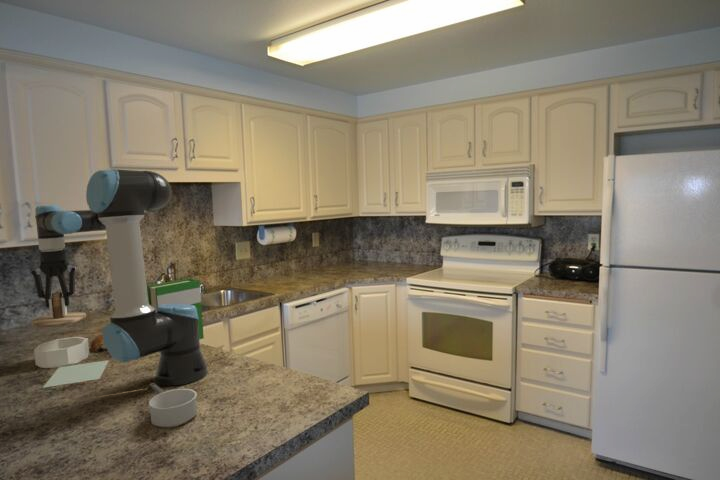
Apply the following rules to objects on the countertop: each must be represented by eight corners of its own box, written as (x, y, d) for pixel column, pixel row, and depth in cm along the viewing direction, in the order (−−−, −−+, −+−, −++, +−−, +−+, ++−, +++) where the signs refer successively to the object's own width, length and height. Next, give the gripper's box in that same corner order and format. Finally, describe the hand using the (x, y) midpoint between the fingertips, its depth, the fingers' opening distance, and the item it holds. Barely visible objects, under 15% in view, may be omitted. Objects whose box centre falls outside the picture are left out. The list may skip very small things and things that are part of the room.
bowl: (83, 365, 154) (81, 346, 154) (31, 372, 149) (29, 353, 148) (92, 351, 168) (90, 335, 168) (45, 358, 163) (43, 340, 162)
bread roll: (124, 355, 174) (127, 334, 177) (107, 352, 164) (111, 330, 167) (100, 355, 175) (104, 334, 178) (82, 352, 165) (87, 331, 168)
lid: (80, 323, 152) (77, 295, 151) (24, 330, 147) (21, 300, 146) (90, 312, 167) (87, 286, 166) (39, 318, 162) (36, 291, 161)
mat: (99, 380, 140) (99, 378, 140) (42, 389, 134) (42, 387, 134) (109, 361, 157) (108, 360, 156) (59, 368, 151) (59, 367, 151)
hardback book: (161, 350, 167) (156, 287, 164) (151, 347, 171) (146, 285, 169) (203, 338, 180) (199, 279, 178) (193, 335, 185) (189, 278, 183)
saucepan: (173, 395, 127) (172, 376, 127) (206, 418, 113) (204, 397, 113) (131, 410, 119) (129, 390, 119) (160, 436, 105) (158, 413, 105)
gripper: (81, 247, 161) (87, 310, 163) (28, 250, 155) (35, 316, 158) (76, 249, 154) (82, 315, 156) (20, 252, 148) (28, 321, 151)
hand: (59, 315), depth 157 cm, fingers closed on lid, 3 cm apart
